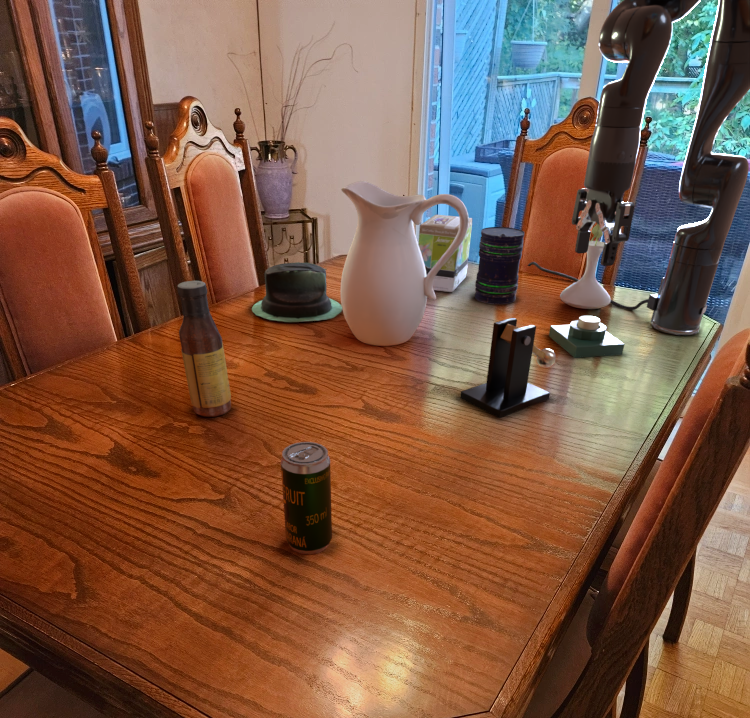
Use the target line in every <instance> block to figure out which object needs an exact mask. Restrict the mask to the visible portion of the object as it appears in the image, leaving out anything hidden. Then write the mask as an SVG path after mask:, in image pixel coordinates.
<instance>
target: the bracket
mask: <svg viewBox="0 0 750 718" xmlns="http://www.w3.org/2000/svg"><path fill="white" fill-rule="evenodd" d="M517 323H518V319H517V318H515V317H509V318H507V319H502V320H499V321H496V322H493V325H492V326H493V327H492V334H491V341H490V342H491V343H490V351H489V352H490V353H489V360H488V366H487V367H488V368H487V376H486V382H485V383H481V384H479V385H476V386H473V387H470V388H466V389H464V390H461V391H460V395H459V396H460V397H459V399H460V400H462V401H465V402H467V403H469V404H471V405H472V406H474V407H476V408H477V409H480V410H482V411H484V412H486V413H488V414H490V415H492V416H494V417H495V418H497V419H501V418H504V417H506V416H510V415H512V414H514V413H517V412H519V411H522V410H524V409H527V408H530V407H533V406H535V405H538V404H541V403H543V402H546V401H548V400H550V396H551V392H550V391H548V390H546V389H543V388H541V387H539V386H536V385H534V384H532V383H529V382H528V381H529V376H530V368H531V363H532V357H533V353H532V351H533V345H534V344H535V338H536V333H537V332H536V331H537V326H536V325H534V324H529V325H526V326H522V327H518V329H515V330H513V331H512V338H511V344H509V343H508V342H506V341H505V340H503V339H502V338H501V335H502V333H503V331H504V329H505V327H506V326H507V324H510V325H513V326H516V327H517ZM534 346H535V345H534Z"/></svg>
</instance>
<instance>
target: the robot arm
mask: <svg viewBox="0 0 750 718" xmlns="http://www.w3.org/2000/svg"><path fill="white" fill-rule="evenodd" d="M700 2H701V0H622V1H620V2H619V3H618V4H617V5H616V6H615V7H614V8H613V9H612V10H611V11H610V12H609V14H608V16H606V19H605V20H604V22H603V24H602V26H601V28H600V32H599V37H598V46H599V47H598V48H599V51H600V53H601V55H602V56H603V58H605V59H606V60H607V61H610V62H613V63H627V64H626V68H625V70H624V72H623V74H622V76H621V77H620V79H618V80H614V81H611V82H608V83H607V84H605V85H604V86H603V88H602V90H601V93H600V97H599V103H598V108H597V115H596V121H595V126H594V129H593V134H592V137H591V141H590V145H589V151H588V158H587V164H586V169H585V174H584V176H585V177H584V182H583V186H584V188H578V189H577V191H576V196H575V202H574V207H573V212H572V216H571V217H572V218H571V224H572V225H573V226H575V230H576V231H577V234H576V241H575V248H574V252H575V253H577V254H587V251H588V246H589V241H591V235H592V229H593V228H594V226H595V224H596V225H597V224H599V226H600V229H601V231H602V232H603V236H604V248H603V251H602V252H601V259H600V265H601V266H603V267H609V266H611V267H612V266H613V265H614V264H615V261H616V257H617V253H618V247H619V245H620V243H622V242H628V241H629V240H630V239H629V238H630V233H631V228H632V223H633V218H634V217H633V215H634V211H635V202H634V201H631V202H630V201H629V202H628V201H627V202H624V193H625V192H626V191H628V190H629V189H631V187H632V181H633V177H634V172H635V167H636V163H637V158H638V153H639V148H640V141H641V131H642V124H643V120H644V115H645V110H646V105H647V99H648V97H649V93H650V91H651V89H652V87H653V85H654V83H655V80H656V78H657V75H658V74H659V71H660V69H661V66H662V65H663V63H664V59H665V58H666V55H667V53H668V50H669V48H670V44H671V41H672V36H673V23H675V22H678V21H680V20H681V19H683V18H684V17H685V16H687V15H688V14H689V13H690V12H691V11H692V10H693V9H694V8H695V7H696V6H697V5H698V4H699V3H700ZM709 43H710V44H709V48H708V53H707V58H706V63H705V69H704V74H703V75H704V76H703V82H702V88H701V93H700V98H699V103H698V107H697V108H698V109H697V113H696V118H695V121H694V125H693V130H692V133H691V137H690V141H689V145H688V148H687V152H686V156H685V160H684V163H683V166H682V171H681V175H680V180H679V187H678V196H679V200H680V202H681V203H682V204H685V205H688V206H694V207H700V208H705V209H711V211H710V214H709V216H708V217H707V218H706V219H704V220H702V221H698V222H694V223H688V224H684V225H681V226H679V227H678V228H677V230H676V232H675V236H674V239H673V243H672V247H671V251H670V255H669V258H668V262H667V267H666V270H665V274H664V277H662V278H661V280H660V284H659V288H658V291H657V293H652V294H649V296H648V298H647V299H643V300H641V301H640V302H638V303H637V304H636V305H635V306H634V305H633V306H628V305H623V304H621V303H618V302H616V301H615V300H613V299H611V302H610V303H609V304H612V305H614V306H616V307H617V308H621V309H624V310H627V311H635V310H637V309H639V308H640V307H641V306H642V305H644V304H646V308H648V309H649V310H651V311H652V315H651V318H650V322H651V326H652V327H653V329H655V330H656V331H659V332H661V333H665V334H669V335H674V336H691V335H692V336H693V335H696V334H698V333H699V332H700V328H701V323H702V319H703V316H704V314H705V313H706V311H707V308H708V305H707V303H708V299H709V296H710V294H711V290H712V286H713V283H714V279H715V276H716V273H717V269H718V266H719V263H720V259H721V257H722V253H723V249H724V247H725V243H726V239H727V237H728V234H729V232H730V229H731V227H732V224H733V220H734V217H735V215H736V212H737V209H738V206H739V203H740V200H741V197H742V195H743V191H744V189H745V186H746V184H747V183H746V182H747V181H748V175H749V169H750V166H749V161H748V159H747V157H745V156H742V155H734V154H726V153H716V152H715V153H714V152H713V147H714V143H715V140H716V138H717V135H718V133H719V130H720V129H721V126H722V125H723V124H724V122H725V121H726V119H727V117H728V116H729V115H730V113H731V112H732V111H733V110H734V108H735V107H737V105H738V104H739V103H740V102H741V100H742V99H743V98H744V97H745V96H746V95H747V93H749V91H750V0H718V5H717V10H716V15H715V21H714V24H713V30H712V33H711V38H710V42H709ZM582 211H583V212H582ZM580 212H581V213H580ZM622 227H623V230H622V229H621V228H622ZM611 231H612V233H611ZM531 266H535V267H536V268H537V269H538V270H540V271H541V272H544V273H547V274H551V275H554V276H559V277H562V278H565V279H568V280H570V281H573V282H574V283H575V282H577V281H578V280H579V279H578V278H576V277H574V276H571V275H568V274H565V273H561V272H558V271H554V270H550V269H547V268H544V267H542V266H541V265H540V264H538V263H537V262H535V261H531V262H529V263H528V264H527V267H531Z"/></svg>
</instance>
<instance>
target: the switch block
mask: <svg viewBox="0 0 750 718" xmlns="http://www.w3.org/2000/svg"><path fill="white" fill-rule="evenodd" d="M578 321H579V319H575V320H572V321H571V322H570V324H557V325H550V327H549V331H548V337H549V338H550V339H551V340H553V342H555V344H557V345H559V346H560V347H561V348H562V349H563V350H565V351H566V352H567V353H568V354H569V355H571V356H572V357H573V358H574V359H578V358H595V357H609V356H610V357H611V356H623V352H624V350H625V349H624V348H625V345H626V344H625V343H624V342H623V341H621V340H620V339H619V338H617V337H615V336H614V335H612V334H611V333H610V332H608V331H607V326H606V325H605V324H604V323H602V322H600V323H599V328H598V329H597V330H588V329H582V328H579V327H578Z"/></svg>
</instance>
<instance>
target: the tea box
mask: <svg viewBox="0 0 750 718" xmlns="http://www.w3.org/2000/svg"><path fill="white" fill-rule="evenodd" d="M459 226H460V217H459V216H455V215H454V216H453V215H445V214H434V215H433V216H431V217H430V218H428V219H427V220H425V221H424V222H423V223H422V222H421V223H420V224H419V232H418V245H419V248H420V251H421V254H422V257H423V261H424V265H425V269H426V275H427V274H428V273H429V272H430V270H431V269H432V268H433V266H434V265H435V264H436V263H437V262H438V260H439V259H440V258H441V257H442V255H443V254H444V253H445V252H446V251H447V249H448V248H449V247H450V245H451V244H452V242H453V241H454V239H455V237H456V235H457V233H458V230H459ZM472 229H473V217H469V224H468V230H467V233H466V236H465V238H464V240H463V241H462V243H461V244H460V246H459V247H458V249H457V250H456V251H455V252H454V254H453V255H452V256H451V257H450V258H449V259H448V260H447V262H446V263H445V264H444V265H443V266H442V267H441V269H440V270H439V271H438V273H437V274H436V276H435V277H434V280H433V290H434V291H439V292H449V293H453V292H454V291H455V289H457V288H458V286H459V285H460V284H461V283H462V282H463V281H464V280H465V279H466V277H467V274H468V273H467V272H468V265H469V257H470V247H471V236H472Z"/></svg>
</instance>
